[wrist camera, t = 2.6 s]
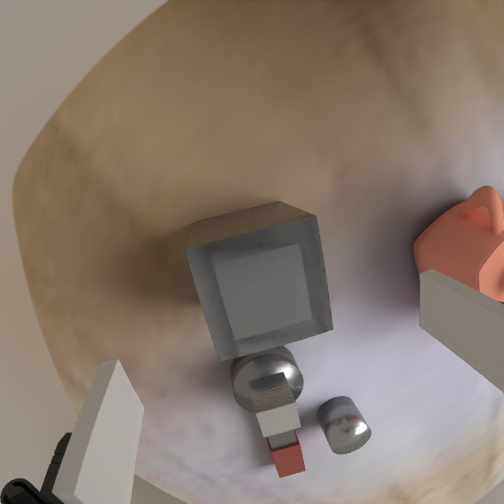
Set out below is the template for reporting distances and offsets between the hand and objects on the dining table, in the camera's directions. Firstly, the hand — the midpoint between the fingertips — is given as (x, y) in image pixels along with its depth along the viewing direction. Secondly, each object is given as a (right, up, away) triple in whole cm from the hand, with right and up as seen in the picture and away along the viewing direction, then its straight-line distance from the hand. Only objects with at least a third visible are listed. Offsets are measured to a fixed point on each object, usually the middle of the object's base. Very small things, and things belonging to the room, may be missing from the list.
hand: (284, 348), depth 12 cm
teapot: (+20, +3, +16) cm, 26 cm away
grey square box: (-2, +4, +13) cm, 13 cm away
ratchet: (+1, -13, +17) cm, 22 cm away
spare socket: (+8, -14, +19) cm, 24 cm away
